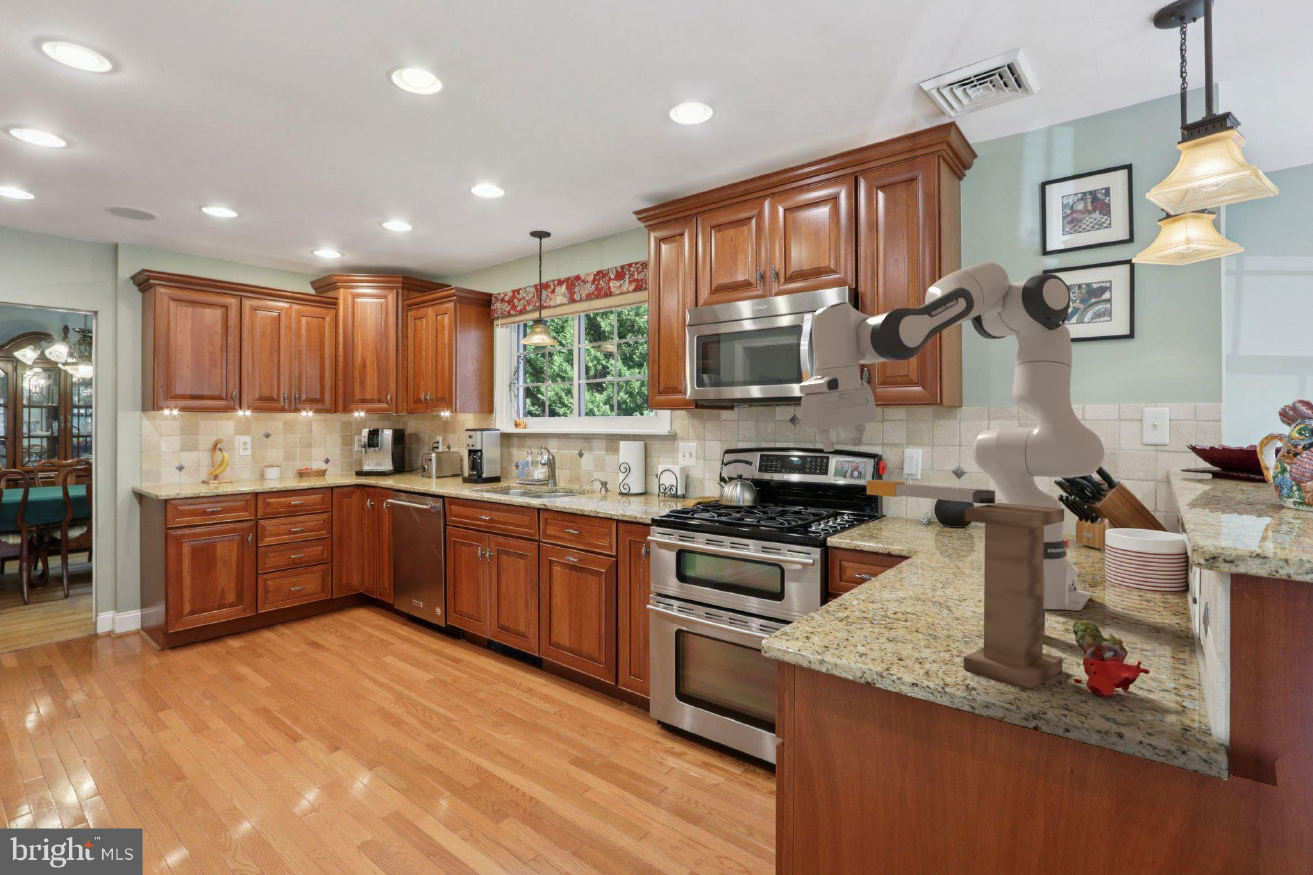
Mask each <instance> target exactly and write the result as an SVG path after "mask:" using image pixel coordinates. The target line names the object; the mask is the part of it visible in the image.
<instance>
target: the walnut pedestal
mask: <svg viewBox="0 0 1313 875" xmlns="http://www.w3.org/2000/svg"><path fill="white" fill-rule="evenodd" d="M964 521H965V522H973V523H982V524H984V573H983V574H984V577H983V579H984V580H983V582H984V583H983V584H984V588H983V590H984V591H983V592H984V594H983V595H984V596H983V602H984V604H983V648H980V649H978V650H976V651H974V652H971V653H969V654H967V655H965V656H963V670H964V669H965V671H967V672H968V671H969V672H970V673H971V672H972V673H975V674H978V675H981V676H984V677H986V678H987V677H988V678H991V679H995V680H998V681H1002V682H1004V683H1008V684H1011V685H1014V686H1018V687H1020V688H1021V687H1022V688H1023V689H1024V688H1025V689H1028V690H1033V689H1035V687H1038V686H1039V685H1041V684H1042V683H1044V682H1047V680H1049V679H1051V678H1052V677H1055V675H1058V674H1059V673H1061V672H1062V671H1063V657H1060V656H1055V655H1053V654H1048V653H1045V652H1043V646H1044V645H1043V644H1044V643H1043V642H1044V641H1043V639H1044V636H1043V565H1044V526H1046V525H1050V524H1055V523H1059V522H1063V523H1064V522H1065V508H1062V509H1061V508H1050V507H1040V506H1029V505H1018V504H1007V503H1004V502H995V503H994V504H983V505H982V504H981V505H977V506H971V507H965V509H964Z"/></svg>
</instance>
